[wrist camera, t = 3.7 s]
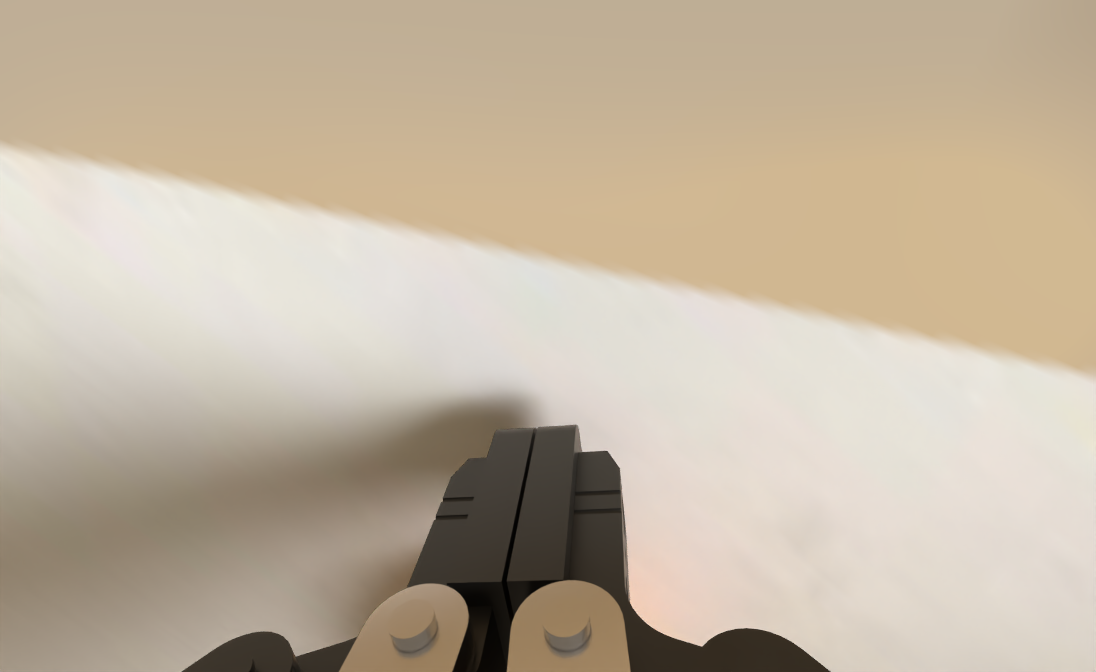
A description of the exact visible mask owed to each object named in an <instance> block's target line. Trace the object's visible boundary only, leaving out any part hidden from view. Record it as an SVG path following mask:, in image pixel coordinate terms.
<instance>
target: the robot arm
mask: <svg viewBox="0 0 1096 672" xmlns="http://www.w3.org/2000/svg"><path fill="white" fill-rule="evenodd" d="M182 672H830V671H829V670H828V669H826V668H825V667H824V666H823V665H821V664H820V663H819V662H818V661H816V660H815V659H814V658H813V657H811V656H810V655H809V654H807V653H806V652H805V651H804V650H802V649H801V648H800V647H798V646H797V645H795V644H794V643H792V642H791V641H789V640H787V639H785V638H783V637H781V636H779V635H776V634H773V633H771V632H767V631H763V630H758V629H748V628H745V629H734V630H730V631H726V632H723V633H721V634H718V635H716V636H715V637H713V638H712V639H710V640H709V641H708V642H707V643H706V644H705V645H704V646H703V647H701V646H697V645H694V644H691V643H687V642H684V641H681V640H677V639H674V638H672V637H669V636H666V635H664V634H662V633H660V632H658V631H656V630H655V629H653V628H652V627H650V626H649V625H648V624H646V623H645V622H644V621H643V620H642V619H641V618H640V617H639V616H638V615H637V613H636V612H635V611H634V609H633V608H632V606H631V604H630V598H629V581H628V561H627V540H626V528H625V517H624V507H623V497H622V486H621V476H620V468H619V467H618V465H617V464H616V462H615V461H614V460H613V458H612V457H611V456H610V454H609V453H608V451H596V452H582V450H581V442H580V434H579V429H578V426H577V425H566V426H549V427H538V428H537V429H536V428H519V429H503V430H496V432H495V434H494V437H493V440H492V443H491V446H490V449H489V452H488V455H487V458H471V459H468V460H467V461H466V462H465V464H464V465H463V466H462V467H461V468H460V469H459V470H458V471H457V472H456V473H455V474H454V475H453V476H452V477H451V479H450V481H449V484H448V486H447V489H446V491H445V494H444V496H443V502H441V504H440V507H439V509H438V512H437V514H436V520H434V522H433V524H432V527H431V529H430V532H429V534H428V537H427V539H426V542H425V544H424V547H423V549H422V552H421V554H420V557H419V559H418V562H417V564H416V567H415V569H414V572H413V574H412V577H411V579H410V582H409V584H408V587H407V588H406V589H404V590H402V591H399V592H397V593H396V594H394V595H392V596H391V597H389V598H388V599H386V600H385V601H384V602H382V603H381V604H380V605H379V606H378V607H377V608H376V609H375V610H374V611H373V613H372V614H371V615H370V616H369V618H368V619H367V621H366V622H365V624H364V626H363V628H362V629H361V631H360V633H359V635H358V637H356V638H354V639H351V640H348V641H345V642H343V643H339V644H336V645H333V646H330V647H326V648H323V649H320V650H317V651H313V652H310V653H307V654H304V655H300V656H297V657H295V655H294V653H293V650H292V648H291V646H290V644H289V642H288V641H287V640H286V639H285V638H284V637H283V636H281V635H279V634H276V633H272V632H255V633H250V634H246V635H243V636H240V637H237V638H235V639H232V640H230V641H228V642H226V643H224V644H223V645H221V646H219V647H218V648H216V649H214V650H213V651H211V652H210V653H208V654H207V655H205V656H204V657H203V658H201V659H200V660H198V661H197V662H195V663H194V664H192V665H191V666H189V667H188V668H186V669H185V670H183V671H182Z"/></svg>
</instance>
